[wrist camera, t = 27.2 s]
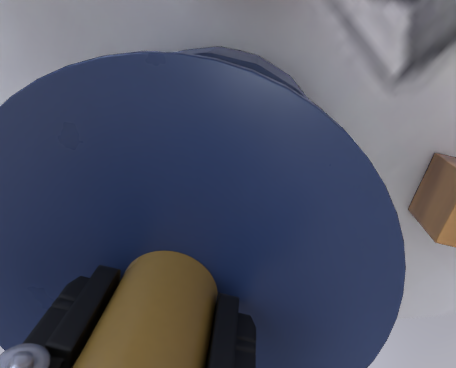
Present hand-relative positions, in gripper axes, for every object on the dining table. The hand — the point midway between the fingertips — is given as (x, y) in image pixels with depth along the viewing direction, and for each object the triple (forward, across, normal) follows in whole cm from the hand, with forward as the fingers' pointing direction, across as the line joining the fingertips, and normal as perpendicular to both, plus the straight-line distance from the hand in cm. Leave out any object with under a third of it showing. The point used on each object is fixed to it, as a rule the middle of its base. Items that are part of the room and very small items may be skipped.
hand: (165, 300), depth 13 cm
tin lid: (+1, 0, 0) cm, 1 cm away
